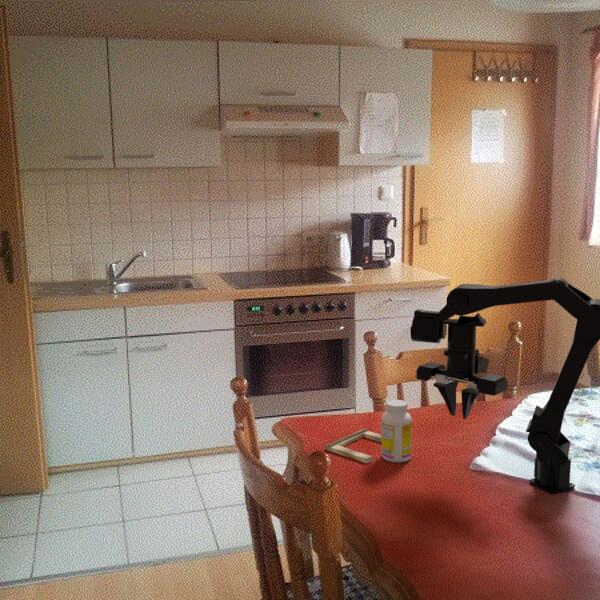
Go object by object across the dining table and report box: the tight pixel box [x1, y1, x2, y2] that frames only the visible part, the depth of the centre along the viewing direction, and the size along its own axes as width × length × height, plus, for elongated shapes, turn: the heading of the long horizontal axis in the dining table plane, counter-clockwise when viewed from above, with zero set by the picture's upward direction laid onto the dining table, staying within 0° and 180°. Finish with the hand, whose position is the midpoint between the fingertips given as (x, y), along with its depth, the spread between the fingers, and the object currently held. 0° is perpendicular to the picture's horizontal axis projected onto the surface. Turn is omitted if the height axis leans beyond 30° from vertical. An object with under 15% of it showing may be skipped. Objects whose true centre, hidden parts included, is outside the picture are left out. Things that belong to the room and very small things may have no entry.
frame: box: [324, 428, 382, 464], centre depth 167 cm, size 12×14×1 cm
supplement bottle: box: [381, 399, 413, 463], centre depth 160 cm, size 7×7×13 cm
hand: (459, 416), depth 152 cm, fingers open, 3 cm apart
